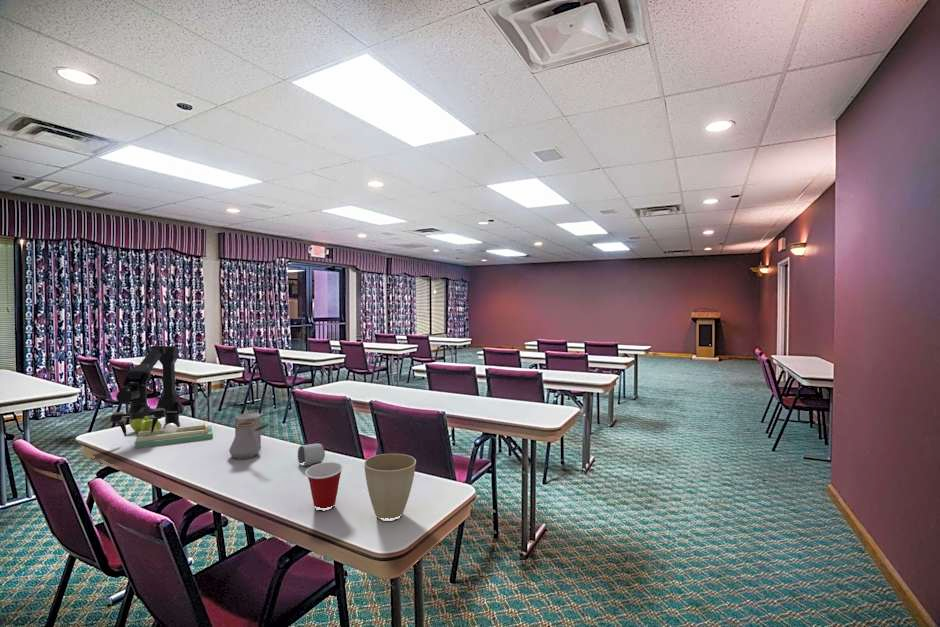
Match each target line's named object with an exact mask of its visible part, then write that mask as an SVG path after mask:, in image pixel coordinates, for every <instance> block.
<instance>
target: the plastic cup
mask: <svg viewBox="0 0 940 627" xmlns="http://www.w3.org/2000/svg"><path fill="white" fill-rule="evenodd" d="M343 468H344V467H343V464H341V463H339V462H334V461H328V462H327V461H326V462H319V463H315V464H312V465H310V467H308V468H307V469H306V470H305V472H304V473H305V475H306V477H307V479H308V482H309V488H310V492H311V498H312V500H313V501H312V502H313V503H312V504H313V507H314V506H316V507H320V508H327V507H331V506H333V505H336V501H337V496H338V491H339V490H338V489H339V485H340V484H339V483H340V478H341V475H342V472H343Z"/></svg>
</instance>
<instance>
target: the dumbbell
mask: <svg viewBox="0 0 940 627" xmlns="http://www.w3.org/2000/svg"><path fill="white" fill-rule="evenodd" d="M152 422H153V418H151V419H150V418H149V416H145V417H144V418H143V419H134V420H131V422H130V423H129V425H130V427H131V429H132V430H133V431H134V432H137V433H138V432H142V431H151V428H152ZM160 429H162V423H161V422H160V421H159V419H158V420H157V422H156V424H155V427H154V430H160Z"/></svg>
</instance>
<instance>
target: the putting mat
mask: <svg viewBox="0 0 940 627" xmlns="http://www.w3.org/2000/svg"><path fill="white" fill-rule="evenodd" d="M213 432H214V431H213V428H212V425H209V423H208V421H207V420H204V424H197V425H188V426H181V427H180V426H177V431H176V432H175V433H172V434H166V433H165V432H164V428H161V429H160V430H153V433H151V431H138V432H137V437H136V439H135V441H136V442H135V449H142V448H148V447H156V446H162V445H171V444H179V443H180V444H181V443H186V442H195V441H202V440H203V441H204V440H209V439H210V440H211V439H213V438H214V436H213V435H214V433H213Z"/></svg>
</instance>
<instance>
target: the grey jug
mask: <svg viewBox="0 0 940 627" xmlns="http://www.w3.org/2000/svg"><path fill="white" fill-rule="evenodd" d="M234 419H235V422H234V428H235V433H234V435H235V436H236V434H237V431H238V427H237V426H236V425H237V424H238V423H242V422H253V423H254V425H253V427H252V429H253V430H255V429H257V428H258V427H260V426H262V424H261V413H259V412H245V413H240V414H239V413H238V414H237V415H235V417H234ZM261 430H262V429H261ZM261 430H258V431H255V432H254V433H255V435H256V437H257V439H258V441H259V443H260V445H261V446H262V443H261V442H262V440H261V438H262V434H261ZM235 436H234V437H235Z"/></svg>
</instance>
